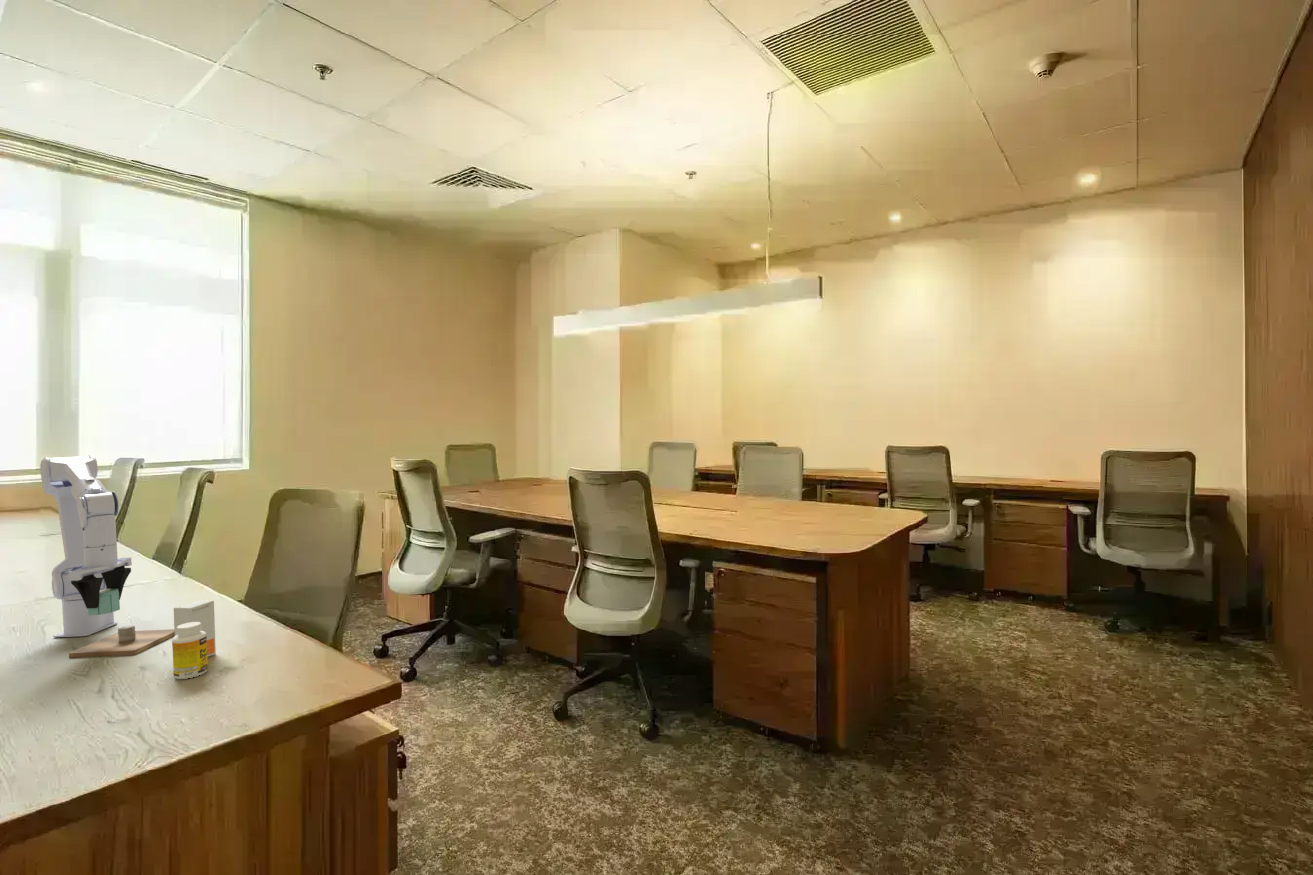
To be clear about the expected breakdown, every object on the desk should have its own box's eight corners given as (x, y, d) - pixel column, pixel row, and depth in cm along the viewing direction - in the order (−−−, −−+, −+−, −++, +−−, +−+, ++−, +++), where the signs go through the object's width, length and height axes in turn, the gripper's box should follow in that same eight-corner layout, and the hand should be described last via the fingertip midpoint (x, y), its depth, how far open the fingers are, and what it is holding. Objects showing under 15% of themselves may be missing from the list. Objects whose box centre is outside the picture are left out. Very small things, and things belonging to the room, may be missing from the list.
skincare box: (191, 664, 131) (188, 608, 131) (175, 663, 132) (172, 607, 132) (217, 653, 137) (214, 600, 137) (201, 652, 138) (198, 599, 138)
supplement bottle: (205, 676, 125) (202, 626, 124) (170, 682, 122) (167, 631, 122) (210, 667, 130) (208, 618, 129) (177, 672, 127) (175, 623, 127)
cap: (101, 608, 146) (100, 587, 146) (125, 607, 146) (124, 586, 146) (81, 615, 140) (80, 594, 140) (105, 614, 141) (104, 593, 140)
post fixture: (120, 635, 151) (119, 619, 151) (180, 632, 152) (179, 616, 152) (69, 657, 137) (68, 639, 137) (134, 654, 138) (133, 636, 138)
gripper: (90, 551, 136) (94, 612, 136) (143, 538, 150) (146, 594, 150) (57, 552, 135) (61, 614, 136) (113, 539, 150) (116, 595, 150)
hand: (103, 604), depth 143 cm, fingers closed on cap, 5 cm apart
